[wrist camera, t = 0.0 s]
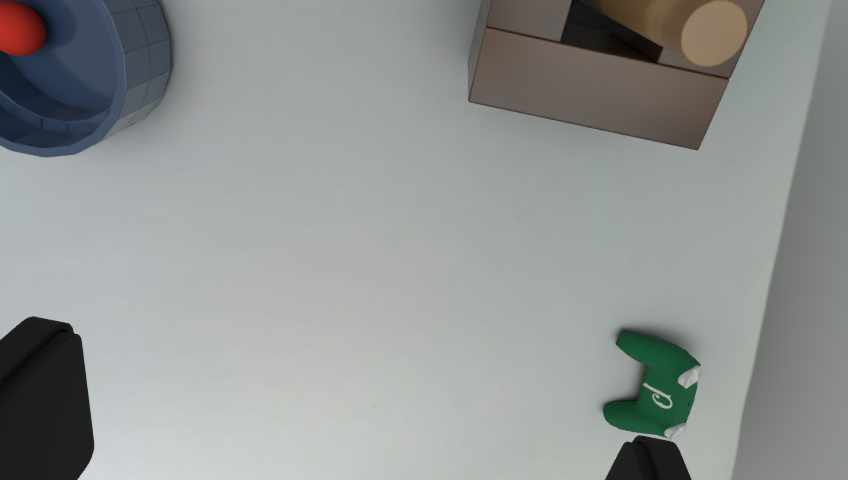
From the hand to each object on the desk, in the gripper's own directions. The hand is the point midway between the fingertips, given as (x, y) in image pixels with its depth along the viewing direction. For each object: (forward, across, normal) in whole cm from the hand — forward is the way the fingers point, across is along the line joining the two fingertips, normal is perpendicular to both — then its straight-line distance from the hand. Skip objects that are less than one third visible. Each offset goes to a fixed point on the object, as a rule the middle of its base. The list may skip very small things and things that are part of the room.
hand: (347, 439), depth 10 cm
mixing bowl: (+30, +23, +2) cm, 38 cm away
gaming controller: (+31, -22, +20) cm, 42 cm away
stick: (+30, -8, -7) cm, 32 cm away
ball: (+28, +26, +2) cm, 38 cm away
